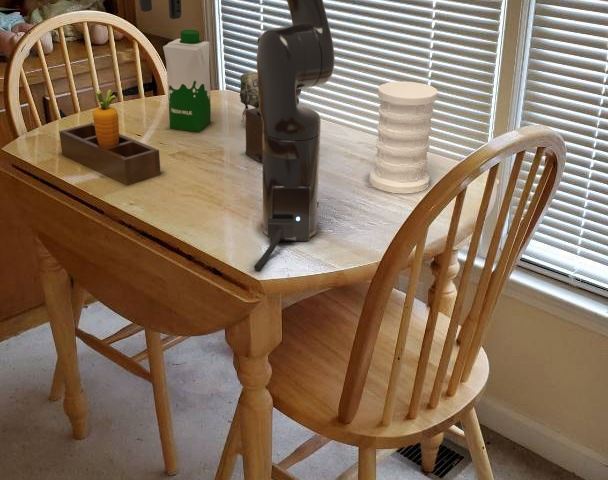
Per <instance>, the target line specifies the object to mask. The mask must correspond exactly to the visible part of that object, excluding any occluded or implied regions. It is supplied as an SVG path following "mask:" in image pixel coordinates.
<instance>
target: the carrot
mask: <svg viewBox="0 0 608 480" xmlns="http://www.w3.org/2000/svg"><path fill="white" fill-rule="evenodd" d="M106 92H107V93H106V98H104V97H103V93H102V91H101V90H97V92H96V97H97V100H98V102H99V105H100V107H97V108H95V109H94V110H93V111H92V117H93V123H94V125H95V131H96V137H97V140H98V144H99V146H101V147H103V148H106V147H109V146H113V145H117V144H119V134H120V123H119V114H118V111H117V109H116V108H115V107H112V106H110V105H111V103H112V102H113V101H114V100H115V99H117V97H116V95H111V94H112V89H108V90H107V91H106Z"/></svg>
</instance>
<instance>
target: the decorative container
mask: <svg viewBox="0 0 608 480" xmlns="http://www.w3.org/2000/svg"><path fill="white" fill-rule="evenodd" d="M377 96H378V98H379V99H380V104H379V107H378V115H379V121H378V123H377V127H376V128H377V133H378V136H377V138H376V141H375V146H376V149H377V150H376V154H375V157H374V164H375V168H374V169H372V170H371V171H370V172H369V183H370V185H372V186H373V187H374V188H376V189H378V190H380V191H384V192H387V193H393V194H414V193H415V194H416V193H419V192H422V191H424V190H426V189H427V188H428V187H429V185H430V176H429V174H428V173H427V172H426V168H427V166H428V162H429V161H428V156H427V155H428V152H429V149H430V141H429V139H430V136H431V133H432V125H431V121H432V119H433V116H434V108H433V103H435V102H436V101H437V100H438V89H437V88H435V87H434V86H432V85H430V84H427V83H422V82H415V81H389V82H386V83H382V84H381V85H379V86H378V89H377Z"/></svg>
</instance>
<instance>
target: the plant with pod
mask: <svg viewBox="0 0 608 480" xmlns="http://www.w3.org/2000/svg"><path fill="white" fill-rule="evenodd" d="M263 33H264V32H262V33H261V34H260V35H259V36H258V37H257V45H258V44H259V40H260V38H261V36H262V35H263ZM239 98H240V103H242V104H243V105H244V106H245V107H244V110H243V112H242V115H241V120H240V122H242V123H243V121H244V119H245V118H246V110H248V109H249V106H251V107H253V108H258V107H259V95H258V76H257V72H252V71H247V72H245V73H243V74H241V75H240V90H239Z"/></svg>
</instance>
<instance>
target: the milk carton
mask: <svg viewBox="0 0 608 480" xmlns="http://www.w3.org/2000/svg"><path fill="white" fill-rule="evenodd" d="M200 39H201V38H200V31H199V30H197V29H184V30H181V31H180V38H177V39H174V40H172V41H169V42H168V43H167V44H165V45H163V46H162V50H163V54H164V58H165V67H166V79H167V80H166V81H167V82H166V83H167V97H168V98H167V99H168V118H169V129H172V130H180V131H185V132H194V133H199V132H201V131H202V130H203V129H205V128H206V127H207V126H208V125H210V124H211V123H212V121H211V120H212V119H211V117H212V116H211V115H212V114H211V113H212V111H211V109H212V107H211V105H212V103H211V77H210V44H211V42H210V41H206V40H200Z"/></svg>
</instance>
